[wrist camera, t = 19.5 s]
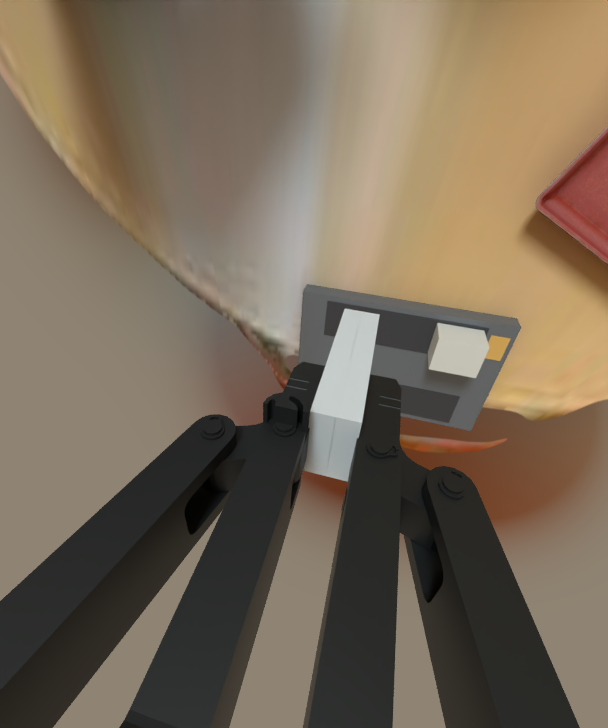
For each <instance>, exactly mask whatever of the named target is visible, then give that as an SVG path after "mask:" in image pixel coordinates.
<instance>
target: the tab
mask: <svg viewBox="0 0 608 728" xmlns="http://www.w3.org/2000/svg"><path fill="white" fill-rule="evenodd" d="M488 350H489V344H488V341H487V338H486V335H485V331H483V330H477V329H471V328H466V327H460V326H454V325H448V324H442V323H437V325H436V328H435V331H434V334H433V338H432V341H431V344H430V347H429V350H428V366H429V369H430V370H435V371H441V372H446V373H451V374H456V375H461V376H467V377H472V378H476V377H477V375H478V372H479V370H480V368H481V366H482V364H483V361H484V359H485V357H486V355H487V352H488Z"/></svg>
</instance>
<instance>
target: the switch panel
mask: <svg viewBox="0 0 608 728" xmlns="http://www.w3.org/2000/svg"><path fill="white" fill-rule="evenodd" d="M344 309H351V310H357V311H363V312H368V313H374V314H380V316H379V322H378V328H377V334H376V340H375V346H374V353H373V359H372V365H371V371H370V374H372V375H377V376H382V377H387V378H392V379H396V380H397V382H398V384H399V385H400V387H401V389H402V393H401V409H400V410H401V416H403V417H407V418H412V419H416V420H421V421H426V422H430V423H435V424H440V425H444V426H449V427H454V428H458V429H463V430H468V431H471V429H472V427H473V425H474V423H475V421H476V419H477V416H478V415H479V412H480V411H481V409H482V406H483V404H484V402H485V400H486V398H487V396H488V394H489V392H490V390H491V388H492V386H493V384H494V382H495V380H496V378H497V376H498V374H499V372H500V370H501V368H502V366H503V364H504V362H505V360H506V358H507V355H508V353H509V351H510V349H511V347H512V345H513V343H514V341H515V339H516V337H517V335H518V333H519V331H520V329H521V326H520V324H519V322H518V320H517V319H515V318H509V317H503V316H497V315H491V314H485V313H479V312H473V311H467V310H461V309H454V308H448V307H442V306H436V305H430V304H424V303H418V302H412V301H406V300H400V299H394V298H387V297H381V296H375V295H369V294H363V293H357V292H351V291H345V290H339V289H333V288H326V287H320V286H314V285H308V284H307V286H306V287H305V289H304V291H303V302H302V317H301V332H300V347H299V361H298V362H299V363H298V365H299V364H300V363H301V362H308V363H313V364H318V365H323V366H326V363H327V360H328V357H329V354H330V351H331V348H332V345H333V342H334V339H335V336H336V333H337V330H338V327H339V324H340V321H341V318H342V315H343V312H344ZM437 323H442V324H448V325H454V326H460V327H466V328H471V329H477V330H483V331H485V335H486V338H487V341H488V344H489V350H488V352H487V355H486V357H485V359H484V361H483V364H482V366H481V368H480V370H479V372H478V375H477V377H476V378H472V377H467V376H461V375H456V374H451V373H446V372H441V371H435V370H430V369H429V366H428V350H429V347H430V344H431V341H432V338H433V334H434V331H435V328H436V325H437Z"/></svg>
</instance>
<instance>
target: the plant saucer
mask: <svg viewBox="0 0 608 728" xmlns="http://www.w3.org/2000/svg"><path fill="white" fill-rule="evenodd" d="M536 208H537V209H538V210H539V211H540V212H541V213H543V214H544V215H545V216H547V217H548V218H549V219H550V220H552V221H553V222H554V223H555V224H557V225H558V226H559V227H561V228H562V229H563V230H564V231H566V232H567V233H568V234H569V235H571V236H572V237H573V238H575V239H576V240H577V241H579V242H580V243H581V244H582V245H583V246H584V247H586V248H587V249H588V250H590V251H591V252H592V253H594V254H595V255H596V256H598V257H599V258H600V259H601V260H603V261H604V262H605V263H606V264H608V126H607V127H606V128H605V129H604V130H603V131H602V133H601V134H600V135H599V136H598V137H597V138H596V139H594V140H593V141H592V143H591V144H590V145H589V146H588V147H587V148H586V149H585V150H584V151H583V152H582V153H581V154H580V155H579V156H578V157H577V158H576V159H575V160H574V161H573V162H572V163H571V164H570V165H569V166H568V167H567V168H566V169H565V170H564V171H563V172H562V173H561V174H560V175H559V176H558V177H557V178H556V179H555V180H554V181H553V182H552V183H551V184H550V185H549V186H548V187H547V188H546V189H545V190H544V191H543V192H542V193H541V194H540V195H539V196H538V198H537V201H536Z"/></svg>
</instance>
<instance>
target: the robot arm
mask: <svg viewBox="0 0 608 728" xmlns="http://www.w3.org/2000/svg"><path fill="white" fill-rule="evenodd" d="M379 316H380V314H374V313H368V312H363V311H357V310H351V309H344V312H343V315H342V318H341V321H340V324H339V327H338V330H337V333H336V336H335V339H334V342H333V345H332V348H331V351H330V354H329V357H328V360H327V363H326V366H323V365H318V364H313V363H308V362H301V363H300V364H299V365H297V366H296V367H295V368H294V369H293V371H292V374H291V376H290V379H289V380H288V382H287V385H286V387H285V389H284V391H283V393H278V394H274V395H272V396H270V397H268V398H267V399H266V401H265V402H264V403H263V410H264V411H263V423H260V424H257V425H250V426H235V424H234V422H233V421H232V420H231V419H230V418H228V417H227V416H223V415H208V416H205V417H202V418H201V419H199V420H198V421H196V422H195V423H194V424H193V425H192V426H191V427H190V428H188V429H187V430H186V431H185V432H184V433H183V434H182V435H181V436H180V437H178V438H177V439H176V440H175V441H174V442H173V443H172V444H171V445H170V446H169V447H168V448H167V449H165V450H164V451H163V452H162V453H161V454H160V455H159V456H158V457H157V458H156V459H155V460H153V462H151V463H150V464H149V465H148V466H147V467H146V468H145V469H144V470H143V471H141V472H140V473H139V474H138V475H137V476H136V477H135V478H134V479H133V480H132V481H131V482H129V483H128V484H127V485H126V486H125V487H124V488H123V489H122V490H121V491H120V492H119V493H118V494H117V495H115V496H114V497H113V498H112V499H111V500H110V501H109V502H108V503H107V504H106V505H104V506H103V507H102V508H101V509H100V510H99V511H98V512H97V513H96V514H95V515H94V516H93V517H91V518H90V519H89V520H88V521H87V522H86V523H85V524H84V525H83V526H82V527H81V528H79V529H78V530H77V531H76V532H75V533H74V534H73V535H72V536H71V537H70V538H69V539H67V540H66V541H65V542H64V543H63V544H62V545H61V546H60V547H59V548H58V549H57V550H55V552H53V553H52V554H51V555H50V556H49V557H48V558H47V559H46V560H45V561H44V562H43V563H41V564H40V565H39V566H38V567H37V568H36V569H35V570H34V571H33V572H32V573H30V574H29V575H28V576H27V577H26V578H25V579H24V580H23V581H22V582H21V583H20V584H18V586H16V587H15V588H14V589H13V590H12V591H11V592H10V593H9V594H8V595H7V596H5V597H4V598H3V599H2V600H1V601H0V728H53V727H54V725H55V724H56V723H57V721H58V720H59V719H60V718H61V716H62V715H63V714H64V712H65V711H66V710H67V708H68V707H69V706H70V705H71V703H72V702H73V701H74V700H75V698H76V697H77V696H78V694H79V693H80V692H81V691H82V689H83V688H84V687H85V685H86V684H87V683H88V682H89V680H90V679H91V678H92V676H93V675H94V674H95V672H96V671H97V670H98V668H100V666H101V665H102V664H103V662H104V661H105V660H106V659H107V657H108V656H109V655H110V653H111V652H112V651H113V649H114V648H115V647H116V645H117V644H118V643H119V642H120V641H121V639H122V638H123V637H124V635H125V634H126V633H127V632H128V630H129V629H130V628H131V626H132V625H133V624H134V622H135V621H136V620H137V619H138V618H139V616H140V615H141V614H142V612H143V611H144V610H145V609H146V607H147V606H148V604H149V603H150V602H151V601H152V599H153V598H154V597H155V596H156V594H157V593H158V592H159V591H160V589H161V588H162V587H163V585H164V584H165V583H166V582H167V580H168V579H169V578H170V576H171V575H172V574H173V573H174V571H175V570H176V569H177V567H178V566H179V565H180V564H181V562H182V561H183V560H184V558H185V557H186V556H187V555H188V553H189V552H190V551H191V549H192V548H193V547H194V546H195V544H196V543H197V542H198V541H199V539H200V538H201V537H202V535H203V534H204V533H205V531H206V530H207V529H208V527H209V526H210V525H211V524H212V523H213V521H214V520H215V519H216V517H217V516H218V515H219V514H220V512H221V511H222V510H223V511H222V513H221V515H220V517H219V519H218V522H217V523H216V526H215V528H214V530H213V532H212V534H211V536H210V539H209V541H208V543H207V545H206V547H205V549H204V551H203V553H202V556H201V558H200V560H199V562H198V564H197V566H196V569H195V571H194V573H193V575H192V577H191V579H190V581H189V584H188V586H187V588H186V590H185V592H184V594H183V596H182V599H181V601H180V603H179V605H178V608H177V609H176V612H175V614H174V616H173V618H172V620H171V622H170V624H169V626H168V629H167V631H166V633H165V635H164V637H163V639H162V641H161V644H160V646H159V648H158V650H157V652H156V654H155V657H154V659H153V661H152V663H151V665H150V667H149V669H148V671H147V674H146V676H145V678H144V680H143V682H142V684H141V686H140V689H139V691H138V693H137V695H136V697H135V699H134V701H133V704H132V706H131V708H130V710H129V712H128V714H127V716H126V718H125V720H124V721H123V723H122V724H121V726H120V728H229V726H230V723H231V719H232V716H233V712H234V709H235V706H236V702H237V699H238V695H239V692H240V689H241V685H242V682H243V678H244V675H245V671H246V668H247V665H248V661H249V658H250V654H251V651H252V648H253V644H254V641H255V638H256V634H257V631H258V627H259V624H260V620H261V617H262V614H263V610H264V607H265V604H266V600H267V597H268V593H269V590H270V587H271V583H272V580H273V576H274V573H275V570H276V566H277V563H278V559H279V556H280V553H281V549H282V545H283V542H284V539H285V535H286V532H287V529H288V525H289V522H290V519H291V515H292V512H293V508H294V505H295V501H296V498H297V494H298V491H299V488H300V483H301V475H302V472H303V468H304V471H308V472H312V473H316V474H320V475H324V476H328V477H332V478H336V479H340V480H344V481H348V483H347V488H346V493H345V497H344V501H343V506H342V514H341V519H340V525H339V530H338V536H337V541H336V547H335V552H334V558H333V564H332V569H331V575H330V580H329V586H328V591H327V597H326V602H325V608H324V614H323V619H322V625H321V630H320V636H319V641H318V647H317V652H316V658H315V663H314V669H313V675H312V680H311V686H310V691H309V697H308V702H307V708H306V714H305V719H304V725H303V728H392V722H393V696H394V695H393V694H394V669H395V642H396V613H397V586H398V561H399V533H402V534H403V535H404V539H405V543H406V548H407V553H408V557H409V561H410V566H411V571H412V575H413V580H414V584H415V589H416V594H417V598H418V603H419V607H420V612H421V616H422V621H423V625H424V630H425V635H426V639H427V643H428V648H429V652H430V657H431V662H432V666H433V671H434V675H435V680H436V685H437V689H438V694H439V698H440V703H441V707H442V712H443V716H444V721H445V725H446V728H580V727H579V725H578V723H577V720H576V718H575V716H574V713H573V711H572V709H571V706H570V704H569V702H568V699H567V697H566V695H565V693H564V690H563V688H562V686H561V683H560V681H559V679H558V677H557V674H556V672H555V669H554V667H553V665H552V662H551V660H550V658H549V655H548V653H547V651H546V648H545V646H544V644H543V641H542V639H541V637H540V634H539V632H538V630H537V627H536V625H535V623H534V620H533V618H532V616H531V614H530V612H529V609H528V607H527V604H526V602H525V600H524V598H523V595H522V593H521V591H520V588H519V586H518V583H517V581H516V579H515V577H514V574H513V572H512V569H511V567H510V565H509V562H508V560H507V558H506V555H505V553H504V551H503V548H502V546H501V544H500V542H499V539H498V537H497V535H496V532H495V530H494V528H493V525H492V523H491V521H490V518H489V516H488V514H487V511H486V509H485V507H484V504H483V502H482V500H481V498H480V495H479V493H478V490H477V488H476V486H475V485H474V483H473V482H472V480H471V479H470V478H469V477H467V476H466V475H465V474H464V473H463V472H460V471H459V470H456V469H455V468H451V467H445V466H442V467H436V468H434V469H432V470H431V471H430V470H428V469H426V468H424V467H422V466H420V465H418V464H417V463H415V462H413V461H412V460H411V459H410V458H408V457H407V456H406V454H405V453H404V452H403V450H402V448H401V446H400V440H399V439H400V416H401V410H400V409H401V393H402V389H401V387H400V385H399V384H398V382H397V380H396V379H392V378H387V377H382V376H377V375H372V374H370V371H371V365H372V359H373V353H374V346H375V340H376V334H377V328H378V322H379Z"/></svg>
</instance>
